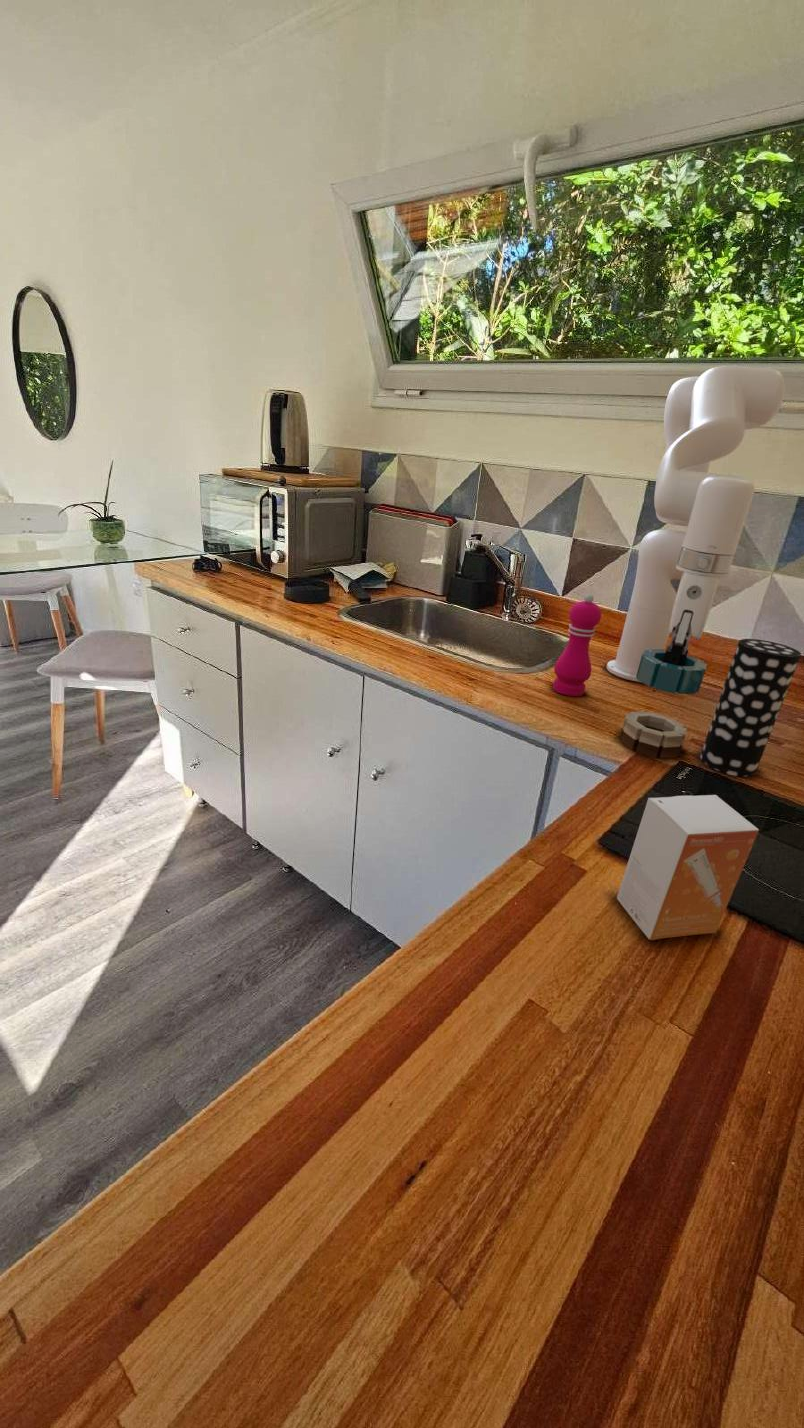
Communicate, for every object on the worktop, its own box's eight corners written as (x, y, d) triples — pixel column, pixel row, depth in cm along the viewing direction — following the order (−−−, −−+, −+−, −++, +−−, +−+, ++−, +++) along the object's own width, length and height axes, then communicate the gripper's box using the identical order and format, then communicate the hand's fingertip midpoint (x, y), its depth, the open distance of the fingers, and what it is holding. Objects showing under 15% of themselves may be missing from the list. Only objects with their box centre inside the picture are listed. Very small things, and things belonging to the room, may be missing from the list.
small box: (649, 943, 59) (687, 834, 53) (614, 898, 64) (646, 796, 59) (718, 934, 61) (761, 829, 55) (678, 892, 66) (715, 792, 61)
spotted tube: (750, 758, 100) (793, 645, 92) (760, 781, 93) (808, 660, 84) (697, 747, 102) (734, 635, 94) (703, 768, 95) (744, 649, 87)
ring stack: (625, 727, 107) (630, 706, 106) (681, 742, 103) (688, 721, 102) (615, 746, 99) (621, 725, 98) (676, 764, 96) (684, 741, 94)
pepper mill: (587, 699, 118) (611, 600, 110) (550, 693, 119) (571, 595, 111) (584, 687, 124) (607, 592, 116) (549, 681, 125) (569, 587, 117)
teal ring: (641, 667, 103) (647, 645, 101) (700, 680, 99) (708, 658, 98) (632, 683, 95) (639, 660, 94) (696, 699, 92) (704, 675, 90)
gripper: (729, 574, 84) (690, 693, 92) (731, 560, 97) (697, 665, 105) (673, 565, 87) (640, 681, 95) (682, 552, 100) (653, 655, 108)
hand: (670, 671), depth 100 cm, fingers closed on teal ring, 2 cm apart
